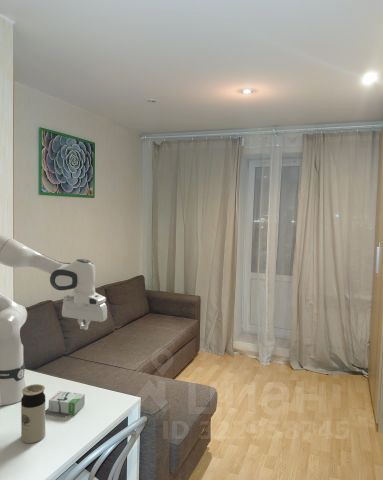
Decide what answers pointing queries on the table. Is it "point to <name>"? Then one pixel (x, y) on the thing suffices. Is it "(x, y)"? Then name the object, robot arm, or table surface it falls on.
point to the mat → (55, 413)
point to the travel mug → (33, 413)
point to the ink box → (66, 402)
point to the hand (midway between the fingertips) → (84, 329)
